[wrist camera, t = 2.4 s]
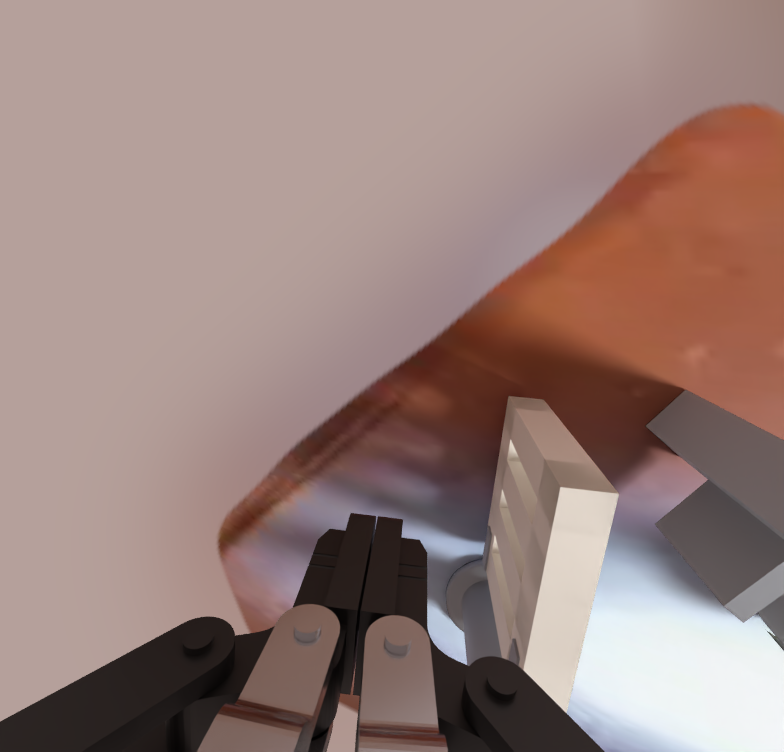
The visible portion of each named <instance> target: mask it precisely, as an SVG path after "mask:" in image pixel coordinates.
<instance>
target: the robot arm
mask: <svg viewBox="0 0 784 752" xmlns="http://www.w3.org/2000/svg"><path fill="white" fill-rule="evenodd" d="M402 524H403V519H396V518H388V517H380V516H378V519H377V524H376V516H371V515H363V514H354V513H351V514H350V517H349V521H348V524H347V528H346V531H343V530H335V529H329V530H328V531H327V532H326V533H325V534H324V535H323V536H321V537H320V538H319V539H318V542H317V544H316V547H315V550H314V552H313V555H312V558H311V560H310V563H309V566H308V568H307V571H306V574H305V576H304V579H303V582H302V584H301V587H300V590H299V592H298V595H297V598H296V600H295V603H294V606H293V608H291V609H290V610H288V611H286V612H285V613H284V614H283V615H282V616H281V617H280V618H279V620H278V621H277V623H276V625H275V626H274V627H272V628H270V629H268V630H265V631H262V632H257V633H250V634H243V635H236V636H235V633H234V630H233V628H232V627H231V625H230V624H229V623H228V622H226V621H225V620H223V619H220V618H216V617H200V618H195V619H192V620H189V621H187V622H185V623H183V624H181V625H179V626H177V627H175V628H174V629H172V630H170V631H168V632H166V633H164V634H163V635H161V636H159V637H157V638H155V639H153V640H151V641H150V642H148V643H146V644H144V645H142V646H140V647H138V648H136V649H134V650H133V651H131V652H129V653H127V654H125V655H123V656H121V657H120V658H118V659H116V660H114V661H112V662H110V663H109V664H107V665H105V666H103V667H101V668H99V669H97V670H96V671H94V672H92V673H90V674H88V675H86V676H85V677H82V678H81V679H79V680H77V681H75V682H73V683H71V684H69V685H68V686H66V687H64V688H62V689H60V690H58V691H56V692H55V693H53V694H51V695H49V696H47V697H45V698H44V699H41V700H40V701H38V702H36V703H34V704H32V705H30V706H29V707H27V708H25V709H23V710H21V711H19V712H17V713H16V714H14V715H12V716H10V717H8V718H6V719H4V720H3V721H1V722H0V752H326V751H327V747H328V743H329V740H330V736H331V733H332V727H333V720H334V718H335V715H336V712H337V707H338V702H339V697H340V693H342V694H349V695H350V693H351V687H352V681H353V675H354V669H355V664H356V669H355V680H354V691H353V695H358V696H360V699H359V710H358V720H357V730H356V743H355V752H604V751H603V750H602V749H601V748H600V747H599V746H598V745H597V744H596V743H595V742H594V741H593V740H592V739H591V738H590V737H589V736H588V735H587V734H586V733H585V732H584V731H583V730H582V729H581V728H580V727H579V726H578V725H577V724H576V723H575V722H574V720H573V719H572V718H571V717H570V716H569V715H568V714H567V713H566V712H565V711H564V710H563V709H562V708H561V707H560V706H559V705H558V704H557V703H556V702H555V701H554V700H553V699H552V698H551V697H550V696H549V695H548V694H547V693H546V692H545V691H544V690H543V689H542V688H541V687H540V686H539V685H538V684H537V683H536V682H535V681H534V680H533V679H532V678H531V677H530V676H529V675H528V674H527V673H526V672H525V671H524V670H523V669H521V668H520V667H519V666H518V665H516V664H515V663H513V662H511V661H509V660H507V659H504V658H500V657H495V656H487V657H482V658H479V659H477V660H475V661H474V662H473V663H472V664H471V665H470V666H467V665H465V664H463V663H461V662H458V661H456V660H454V659H452V658H450V657H448V656H447V655H445V654H444V653H443V652H442V651H440V650H439V649H438V648H437V647H436V645H435V644H434V643H433V641H432V640H431V638H430V636H429V633H428V628H427V552H426V550H425V549H424V547H423V545H422V543H421V542H420V540H415V539H407V538H401V535H402ZM375 525H376V530H375Z"/></svg>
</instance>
